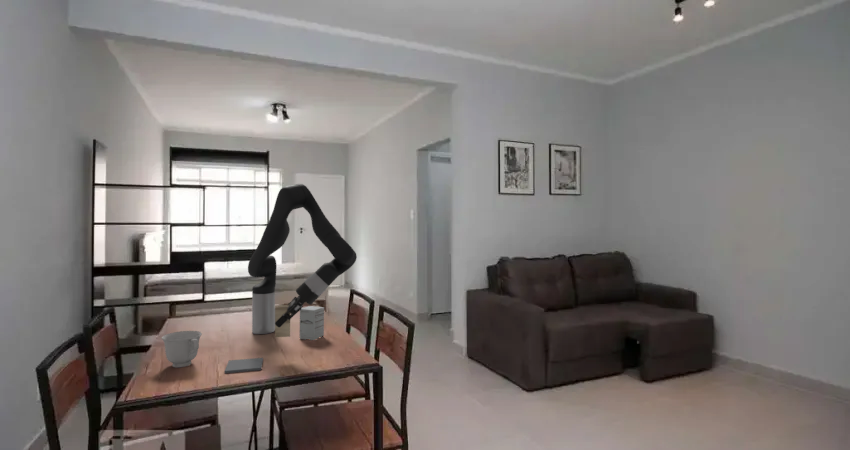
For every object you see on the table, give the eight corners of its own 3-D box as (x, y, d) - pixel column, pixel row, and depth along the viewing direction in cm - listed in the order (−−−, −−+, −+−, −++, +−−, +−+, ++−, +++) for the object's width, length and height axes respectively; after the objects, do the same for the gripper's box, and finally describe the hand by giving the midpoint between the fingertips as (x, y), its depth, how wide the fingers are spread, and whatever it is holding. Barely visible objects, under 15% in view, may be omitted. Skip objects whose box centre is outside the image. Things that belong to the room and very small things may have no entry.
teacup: (178, 375, 139) (178, 343, 138) (153, 366, 146) (153, 336, 146) (214, 364, 149) (214, 335, 149) (189, 357, 157) (189, 328, 157)
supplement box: (298, 339, 181) (298, 308, 181) (309, 335, 188) (310, 305, 188) (313, 341, 178) (313, 310, 178) (324, 336, 185) (324, 306, 185)
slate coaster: (228, 362, 151) (228, 360, 151) (263, 359, 154) (263, 357, 154) (224, 373, 140) (224, 370, 140) (261, 370, 144) (261, 367, 144)
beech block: (275, 333, 157) (275, 305, 157) (290, 332, 159) (290, 305, 158) (275, 337, 152) (275, 308, 152) (290, 336, 154) (290, 307, 154)
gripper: (304, 278, 164) (269, 312, 161) (305, 284, 150) (268, 321, 147) (318, 292, 166) (284, 325, 162) (321, 299, 152) (284, 336, 149)
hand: (277, 323), depth 155 cm, fingers closed on beech block, 5 cm apart
